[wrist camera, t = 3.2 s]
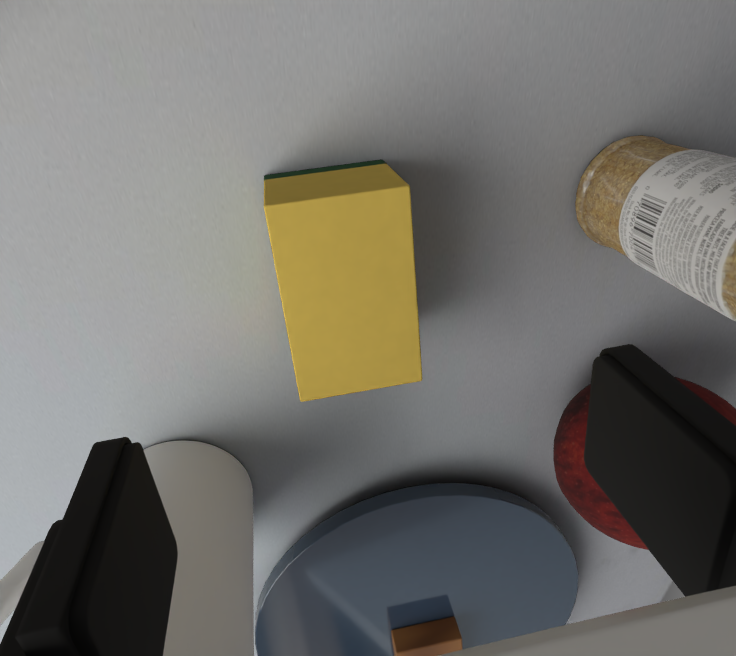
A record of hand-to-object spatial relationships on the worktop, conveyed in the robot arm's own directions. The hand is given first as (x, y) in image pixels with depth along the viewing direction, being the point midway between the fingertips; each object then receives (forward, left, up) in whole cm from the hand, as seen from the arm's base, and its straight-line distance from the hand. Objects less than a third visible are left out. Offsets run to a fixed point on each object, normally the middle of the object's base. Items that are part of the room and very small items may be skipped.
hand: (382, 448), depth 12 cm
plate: (-2, +21, -12) cm, 24 cm away
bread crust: (-2, +23, -11) cm, 25 cm away
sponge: (0, 0, -12) cm, 12 cm away
